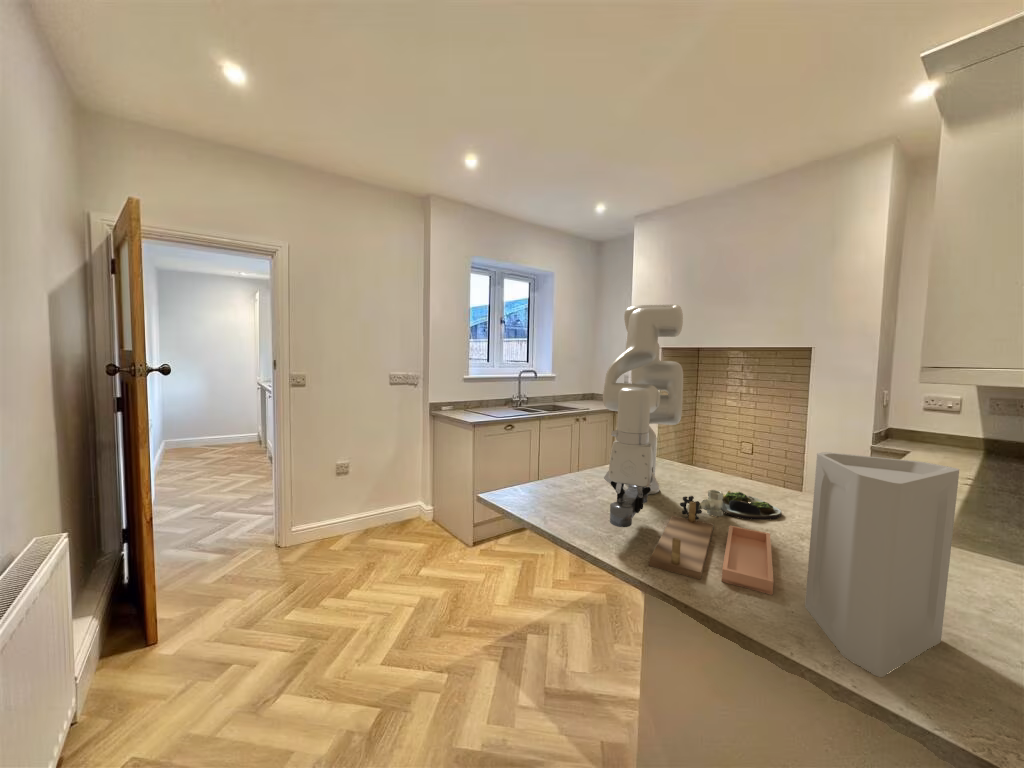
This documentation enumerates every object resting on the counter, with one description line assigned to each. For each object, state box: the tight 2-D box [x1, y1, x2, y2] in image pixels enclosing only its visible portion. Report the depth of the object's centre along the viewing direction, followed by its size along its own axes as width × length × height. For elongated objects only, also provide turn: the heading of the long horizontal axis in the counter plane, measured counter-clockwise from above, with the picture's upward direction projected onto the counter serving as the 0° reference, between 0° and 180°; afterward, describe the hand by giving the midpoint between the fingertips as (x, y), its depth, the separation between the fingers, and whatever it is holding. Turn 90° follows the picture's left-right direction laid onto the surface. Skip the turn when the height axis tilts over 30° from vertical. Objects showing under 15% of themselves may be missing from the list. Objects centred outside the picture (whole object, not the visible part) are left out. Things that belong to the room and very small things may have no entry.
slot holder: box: [721, 525, 775, 596], centre depth 91 cm, size 25×9×3 cm, turn 150°
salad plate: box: [721, 490, 782, 521], centre depth 123 cm, size 19×18×5 cm
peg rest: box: [648, 501, 714, 580], centre depth 97 cm, size 28×10×6 cm, turn 150°
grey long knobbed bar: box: [609, 485, 649, 528], centre depth 104 cm, size 21×5×4 cm, turn 150°
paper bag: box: [804, 451, 961, 678], centre depth 68 cm, size 19×15×28 cm
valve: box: [679, 489, 724, 521], centre depth 115 cm, size 7×7×12 cm
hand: (629, 508), depth 104 cm, fingers closed on grey long knobbed bar, 3 cm apart
